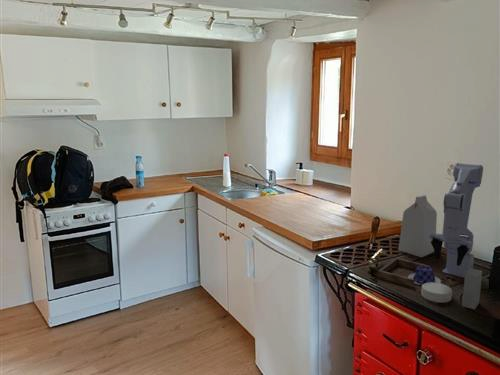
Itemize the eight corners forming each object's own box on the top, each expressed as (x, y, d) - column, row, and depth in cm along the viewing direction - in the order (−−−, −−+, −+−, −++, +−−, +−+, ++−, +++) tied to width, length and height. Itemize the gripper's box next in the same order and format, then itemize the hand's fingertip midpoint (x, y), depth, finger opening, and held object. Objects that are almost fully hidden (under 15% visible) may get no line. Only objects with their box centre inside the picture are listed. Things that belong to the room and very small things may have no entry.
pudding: (401, 279, 168) (402, 266, 167) (419, 272, 175) (420, 260, 174) (428, 290, 159) (430, 277, 158) (447, 282, 166) (448, 269, 164)
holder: (429, 272, 174) (429, 265, 174) (412, 287, 161) (413, 280, 160) (395, 263, 183) (396, 257, 183) (377, 277, 170) (377, 270, 169)
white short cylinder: (437, 305, 147) (438, 296, 147) (414, 293, 156) (415, 284, 155) (457, 299, 151) (458, 290, 151) (434, 288, 160) (435, 279, 160)
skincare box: (465, 299, 151) (469, 267, 149) (479, 303, 148) (483, 270, 146) (461, 306, 146) (464, 273, 144) (475, 309, 144) (478, 276, 141)
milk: (412, 244, 207) (416, 191, 202) (435, 251, 198) (440, 196, 193) (398, 250, 200) (402, 195, 194) (421, 257, 191) (426, 200, 185)
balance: (378, 260, 187) (379, 246, 185) (387, 263, 184) (388, 248, 183) (364, 270, 177) (365, 254, 176) (374, 272, 174) (375, 257, 173)
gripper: (427, 223, 157) (423, 259, 160) (468, 232, 147) (463, 270, 149) (436, 220, 162) (432, 254, 164) (476, 228, 151) (472, 265, 154)
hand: (448, 262), depth 157 cm, fingers open, 7 cm apart
